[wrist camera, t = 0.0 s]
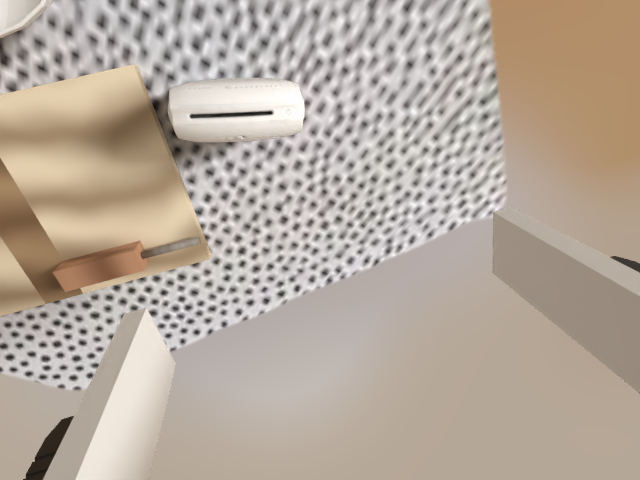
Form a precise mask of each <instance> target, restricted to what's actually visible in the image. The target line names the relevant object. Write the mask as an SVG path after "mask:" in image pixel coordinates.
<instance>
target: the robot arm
mask: <svg viewBox="0 0 640 480" xmlns="http://www.w3.org/2000/svg"><path fill="white" fill-rule="evenodd" d="M493 273H494V274H495V275H496V276H497V277H498V278H500V279H501V280H502V281H503V282H504V283H506V284H507V285H508V286H509V287H510V288H512V289H513V290H514V291H515V292H517V293H518V294H519V295H520V296H521V297H523V298H524V299H525V300H526V301H528V302H529V303H530V304H531V305H532V306H534V307H535V308H536V309H537V310H538V311H540V312H541V313H542V314H543V315H545V316H546V317H547V318H548V319H549V320H551V321H552V322H553V323H554V324H556V325H557V326H558V327H559V328H561V329H562V330H563V331H564V332H566V333H567V334H568V335H569V336H571V337H572V338H573V339H574V340H575V341H576V342H578V343H579V344H580V345H581V346H582V347H584V348H585V349H586V350H587V351H589V352H590V353H591V354H592V355H593V356H595V357H596V358H597V359H598V360H599V361H601V362H602V363H603V364H604V365H606V366H607V367H608V368H609V369H611V370H612V371H613V372H614V373H615V374H617V375H618V376H619V377H620V378H622V379H623V380H624V381H625V382H626V383H628V384H629V385H630V386H631V387H632V388H634V389H635V390H636V391H637V392H638V393H640V264H639V263H637V262H635V261H631V260H628V259H624V258H620V257H616V256H612V257H608V256H606V255H604V254H602V253H600V252H598V251H597V250H595V249H593V248H591V247H589V246H587V245H585V244H583V243H581V242H579V241H577V240H575V239H573V238H571V237H569V236H567V235H565V234H563V233H561V232H560V231H558V230H556V229H554V228H552V227H550V226H548V225H546V224H544V223H542V222H540V221H538V220H536V219H534V218H532V217H530V216H528V215H526V214H525V213H523V212H521V211H519V210H516V209H515V208H513V207H510V208H507V209H503V210H500V211H496V212H493ZM175 366H176V364H175V362H174V360H173V358H172V356H171V354H170V352H169V350H168V349H167V347H166V345H165V343H164V341H163V339H162V337H161V335H160V333H159V331H158V329H157V328H156V326H155V324H154V322H153V320H152V318H151V316H150V314H149V312H148V310H147V308H145V309H141V310H137V311H134V312H130V313H126V314H124V316H123V318H122V320H121V322H120V324H119V326H118V328H117V330H116V332H115V334H114V336H113V338H112V340H111V342H110V344H109V346H108V348H107V350H106V352H105V354H104V356H103V358H102V361H101V363H100V365H99V367H98V369H97V371H96V373H95V375H94V377H93V379H92V381H91V383H90V385H89V387H88V389H87V391H86V393H85V395H84V397H83V399H82V401H81V403H80V405H79V407H78V409H77V411H76V414H75V415H74V416H72V417H69V418H65V419H62V420H61V421H60V422H59V424H58V425H57V426H56V427H55V428H54V429H53V431H51V433H50V434H49V435H48V436H47V437H46V438H45V440H44V442H43V444H42V446H41V448H40V449H39V451H38V453H37V455H36V457H35V462H32V464H31V466H30V468H29V470H28V472H27V473H26V479H23V480H149V478H150V474H151V470H152V465H153V461H154V456H155V453H156V448H157V444H158V440H159V435H160V431H161V427H162V422H163V418H164V414H165V410H166V405H167V401H168V397H169V392H170V388H171V384H172V379H173V375H174V371H175Z"/></svg>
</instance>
